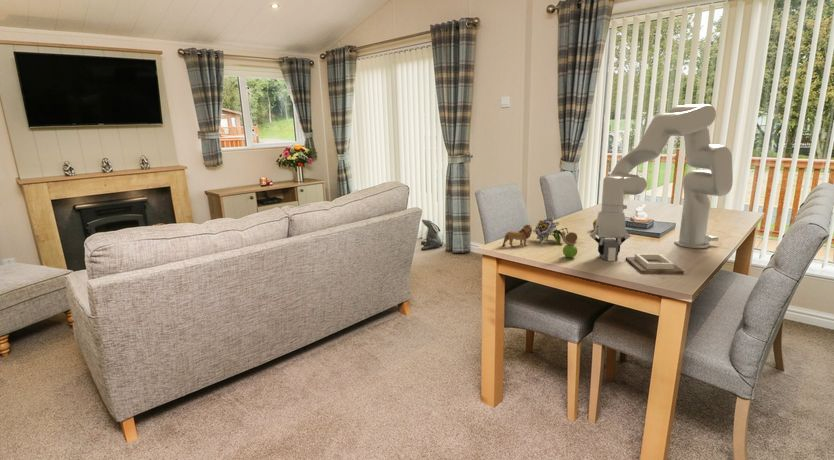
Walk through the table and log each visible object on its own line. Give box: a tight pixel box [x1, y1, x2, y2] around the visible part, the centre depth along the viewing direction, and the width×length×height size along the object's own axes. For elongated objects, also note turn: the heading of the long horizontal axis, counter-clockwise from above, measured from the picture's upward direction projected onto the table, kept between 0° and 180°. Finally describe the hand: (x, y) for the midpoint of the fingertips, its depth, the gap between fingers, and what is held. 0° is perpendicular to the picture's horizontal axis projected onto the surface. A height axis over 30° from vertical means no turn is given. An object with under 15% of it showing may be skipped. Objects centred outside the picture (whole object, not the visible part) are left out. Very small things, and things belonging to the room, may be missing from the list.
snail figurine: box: [561, 228, 578, 259], centre depth 173 cm, size 5×6×12 cm
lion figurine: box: [501, 224, 533, 248], centre depth 191 cm, size 15×5×9 cm, turn 110°
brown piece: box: [625, 253, 685, 275], centre depth 161 cm, size 14×16×3 cm
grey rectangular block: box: [599, 238, 619, 262], centre depth 171 cm, size 5×7×7 cm
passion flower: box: [532, 216, 569, 245], centre depth 197 cm, size 13×12×14 cm
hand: (608, 253), depth 172 cm, fingers closed on grey rectangular block, 5 cm apart
